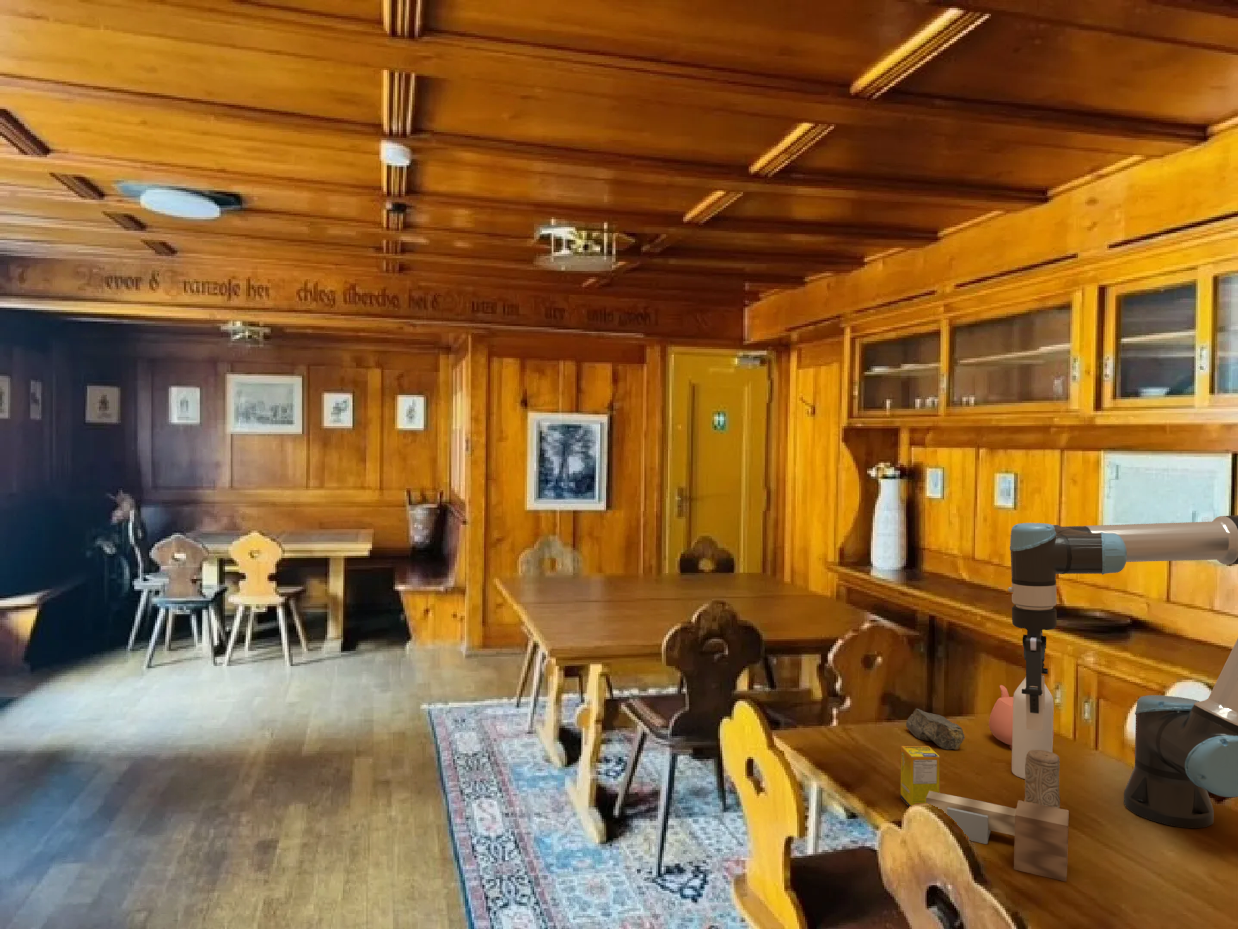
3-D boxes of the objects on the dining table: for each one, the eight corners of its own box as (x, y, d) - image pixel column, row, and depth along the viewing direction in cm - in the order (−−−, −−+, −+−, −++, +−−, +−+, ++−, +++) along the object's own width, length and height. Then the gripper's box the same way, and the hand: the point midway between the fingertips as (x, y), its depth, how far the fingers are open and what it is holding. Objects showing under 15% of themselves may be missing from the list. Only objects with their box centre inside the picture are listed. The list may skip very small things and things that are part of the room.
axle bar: (1019, 828, 156) (1019, 809, 155) (1017, 836, 152) (1018, 817, 152) (929, 809, 163) (929, 791, 163) (925, 816, 160) (926, 797, 160)
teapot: (1024, 729, 217) (1025, 682, 217) (1068, 758, 197) (1069, 706, 197) (973, 729, 217) (974, 682, 216) (1012, 758, 197) (1013, 706, 196)
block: (1067, 863, 147) (1068, 810, 146) (1066, 881, 140) (1067, 826, 140) (1017, 852, 150) (1018, 800, 150) (1013, 869, 144) (1015, 815, 144)
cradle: (991, 829, 159) (991, 803, 159) (987, 844, 153) (987, 817, 153) (952, 820, 163) (952, 795, 163) (946, 835, 157) (947, 809, 157)
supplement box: (927, 797, 174) (928, 745, 174) (939, 810, 168) (940, 756, 168) (899, 797, 174) (900, 745, 173) (910, 810, 168) (911, 756, 167)
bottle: (1013, 779, 184) (1017, 643, 183) (1009, 765, 192) (1012, 635, 191) (1054, 784, 181) (1058, 646, 181) (1048, 770, 189) (1051, 638, 188)
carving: (1060, 810, 168) (1062, 751, 168) (1058, 824, 162) (1060, 763, 162) (1025, 803, 172) (1027, 745, 171) (1022, 816, 165) (1023, 756, 165)
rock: (979, 730, 202) (950, 725, 198) (972, 758, 202) (943, 753, 197) (926, 707, 217) (898, 702, 213) (919, 733, 217) (891, 728, 213)
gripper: (1015, 593, 169) (1017, 697, 170) (1007, 617, 148) (1010, 736, 148) (1057, 595, 166) (1059, 701, 166) (1055, 620, 144) (1058, 742, 144)
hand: (1036, 718), depth 157 cm, fingers open, 13 cm apart
